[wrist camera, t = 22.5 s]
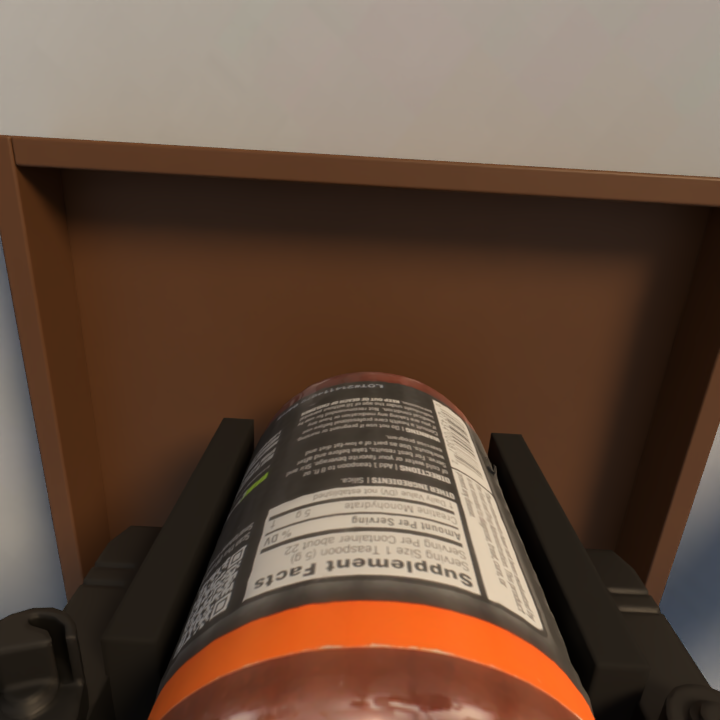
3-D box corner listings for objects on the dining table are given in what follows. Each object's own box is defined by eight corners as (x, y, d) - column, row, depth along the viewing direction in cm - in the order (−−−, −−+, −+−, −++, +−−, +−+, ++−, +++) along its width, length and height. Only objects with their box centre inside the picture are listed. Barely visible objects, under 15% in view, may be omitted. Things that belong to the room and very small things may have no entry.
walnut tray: (112, 604, 19) (77, 665, 16) (45, 138, 13) (-21, 133, 11) (598, 630, 19) (630, 694, 17) (728, 178, 13) (800, 182, 11)
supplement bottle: (452, 573, 15) (646, 1547, 4) (244, 539, 15) (-71, 1494, 4) (512, 384, 13) (1136, 1369, 2) (272, 340, 13) (-219, 1243, 2)
